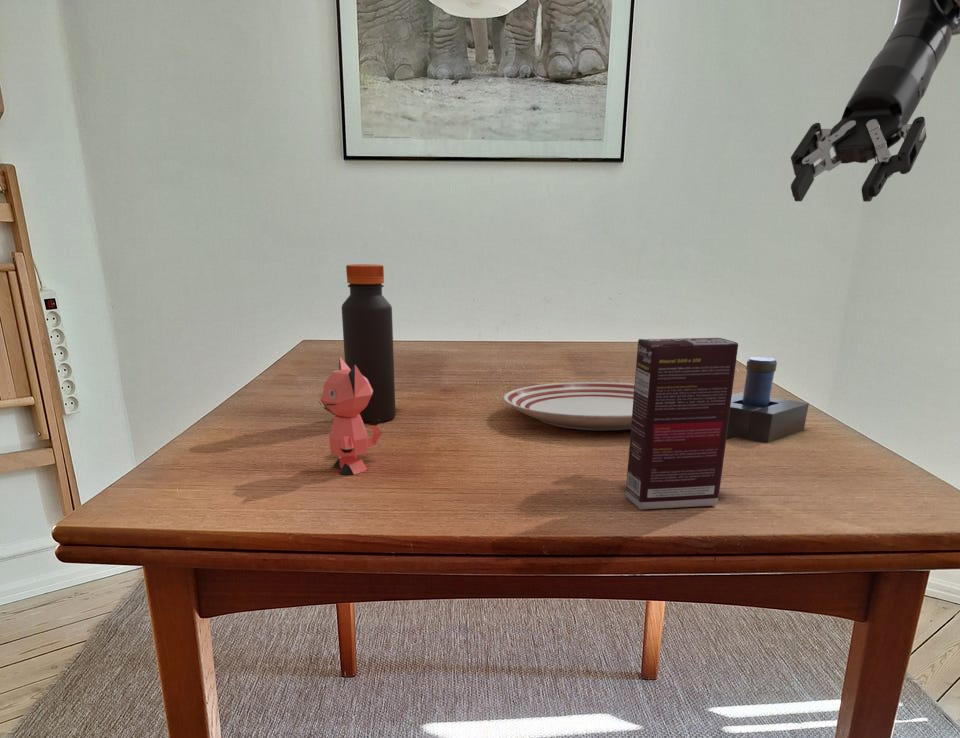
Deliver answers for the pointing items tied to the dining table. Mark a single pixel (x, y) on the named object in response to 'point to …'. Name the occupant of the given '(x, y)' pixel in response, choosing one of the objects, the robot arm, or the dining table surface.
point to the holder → (765, 419)
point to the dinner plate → (577, 404)
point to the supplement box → (679, 421)
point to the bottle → (370, 338)
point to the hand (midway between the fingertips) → (830, 196)
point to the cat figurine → (349, 417)
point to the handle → (759, 381)
